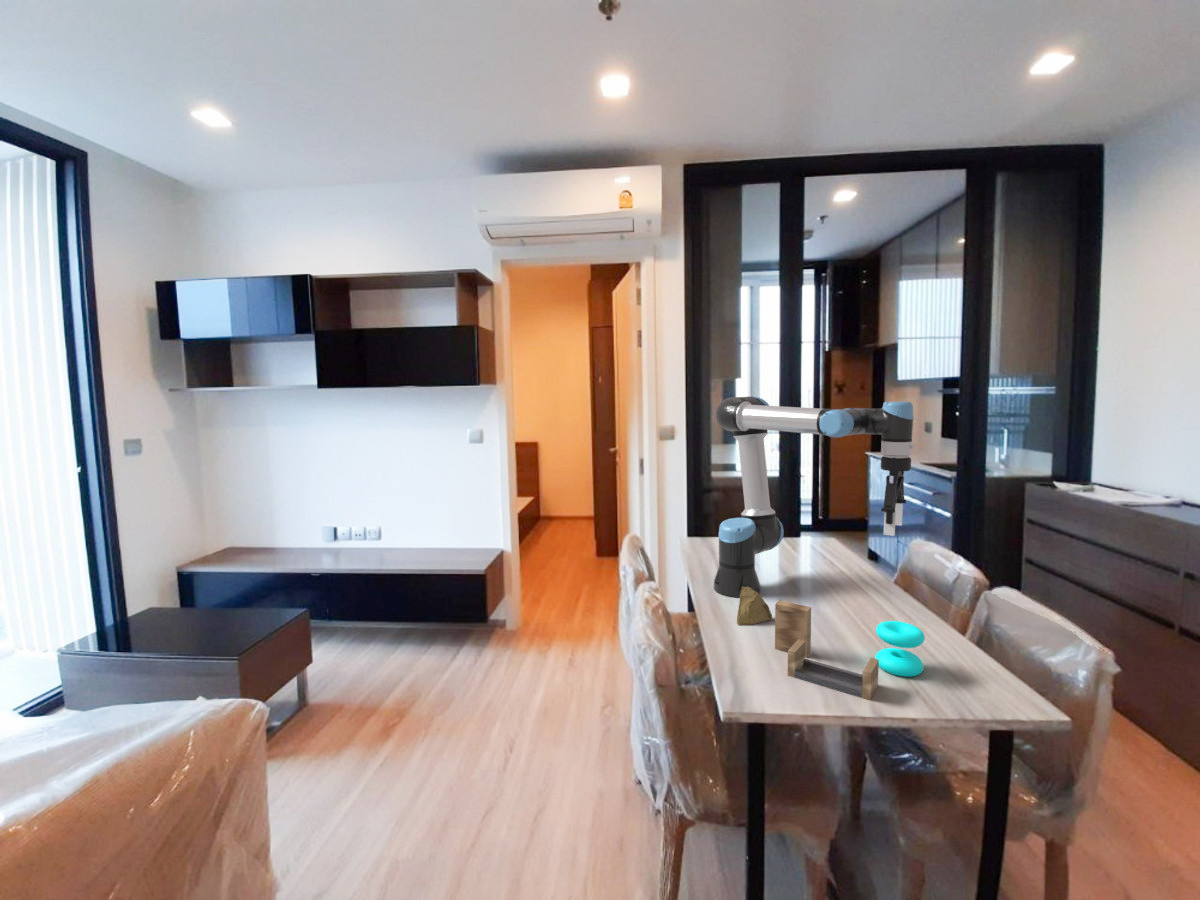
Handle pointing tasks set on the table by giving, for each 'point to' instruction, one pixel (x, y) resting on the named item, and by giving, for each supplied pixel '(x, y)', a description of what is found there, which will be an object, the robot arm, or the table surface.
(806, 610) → the door panel
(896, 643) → the donuts
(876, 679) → the frame posts
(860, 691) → the track
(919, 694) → the table surface
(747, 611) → the rock
